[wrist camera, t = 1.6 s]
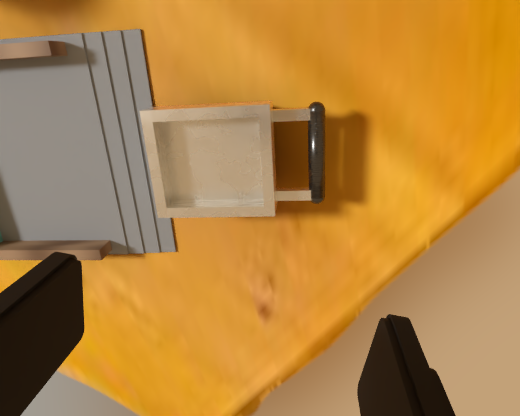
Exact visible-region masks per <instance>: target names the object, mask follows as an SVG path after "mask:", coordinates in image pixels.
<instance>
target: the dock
mask: <svg viewBox="0 0 520 416" xmlns="http://www.w3.org/2000/svg"><path fill="white" fill-rule="evenodd" d="M150 107H153V104H152V97H151V91H150V85H149V78H148V72H147V66H146V60H145V53H144V47H143V41H142V35H141V29H135V30H123V31H107V32H92V33H77V34H64V35H52V36H39V37H27V38H14V39H2V40H0V260H44V259H46V258H47V257H48V256H49V255H51V254H52V253H54V252H62V253H67V254H73V255H75V256H76V257H77V260H102V259H103V258H104V257H105V256H106V255H107V254H129V253H160V252H176V247H175V241H174V235H173V229H172V222H171V218H158V215H157V209H156V204H155V198H154V192H153V186H152V181H151V175H150V169H149V163H148V157H147V152H146V146H145V140H144V134H143V129H142V123H141V117H140V111H141V110H144V109H147V108H150Z"/></svg>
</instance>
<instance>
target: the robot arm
mask: <svg viewBox="0 0 520 416" xmlns="http://www.w3.org/2000/svg"><path fill="white" fill-rule="evenodd" d="M83 333H84V310H83V287H82V265H81V262H80V261H79V260H77V257H76V256H75V255H73V254H67V253H62V252H54V253H52V254H51V255H49V256H48V257H47V258H46V259H44V260H43V261H42V262H40V263H39V264H38V265H36V266H35V267H34V268H32V269H31V270H30V271H29V272H27V273H26V274H25V275H23V276H22V277H21V278H19V279H18V280H17V281H16V282H14V283H13V284H12V285H10V286H9V287H8V288H6V289H5V290H4V291H2V292H1V293H0V416H20V415H21V414H22V413H23V411H24V410H25V409H26V408H27V407H28V405H29V404H30V403H31V402H32V400H33V399H34V398H35V397H36V395H37V394H38V393H39V392H40V390H41V389H42V388H43V386H44V385H45V384H46V383H47V381H48V380H49V379H50V378H51V376H52V375H53V374H54V373H55V371H56V370H57V369H58V368H59V366H60V365H61V364H62V363H63V361H64V360H65V359H66V358H67V356H68V355H69V354H70V353H71V351H72V350H73V349H74V348H75V346H76V345H77V344H78V343H79V341H80V340H81V338H82V336H83ZM358 401H359V407H360V414H361V416H455V413H454V411H453V409H452V406H451V404H450V402H449V399H448V397H447V395H446V392H445V390H444V388H443V385H442V383H441V380H440V378H439V376H438V374H437V372H436V371H435V370H434V369H431V368H429V365H428V363H427V360H426V358H425V356H424V353H423V351H422V348H421V346H420V343H419V341H418V338H417V336H416V334H415V331H414V329H413V326H412V324H411V321H410V320H409V318H406V317H401V316H396V315H391V314H389V315H388V316H387V317H386V318H381V319H380V321H379V323H378V326H377V329H376V332H375V335H374V339H373V342H372V344H371V347H370V351H369V354H368V356H367V359H366V362H365V365H364V368H363V371H362V374H361V378H360V380H359V384H358Z"/></svg>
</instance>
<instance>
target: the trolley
mask: <svg viewBox="0 0 520 416" xmlns="http://www.w3.org/2000/svg"><path fill="white" fill-rule="evenodd" d="M140 117H141V123H142V129H143V134H144V140H145V146H146V152H147V157H148V163H149V169H150V175H151V181H152V186H153V192H154V198H155V204H156V209H157V215H158V218H188V217H261V216H275V215H276V209H277V201H307V200H310V201H311V202H312V203H315V204H319V203H321V202H322V201H323V200H324V198H325V107H324V105H323V104H322V103H320V102H313V103H312V104H310V106H309V107H306V108H286V109H273V101H255V102H236V103H217V104H197V105H178V106H159V107H150V108H147V109H144V110H141V111H140ZM307 120H308V163H309V187H295V188H277V187H276V165H275V144H274V123H273V122H285V121H307Z"/></svg>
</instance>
